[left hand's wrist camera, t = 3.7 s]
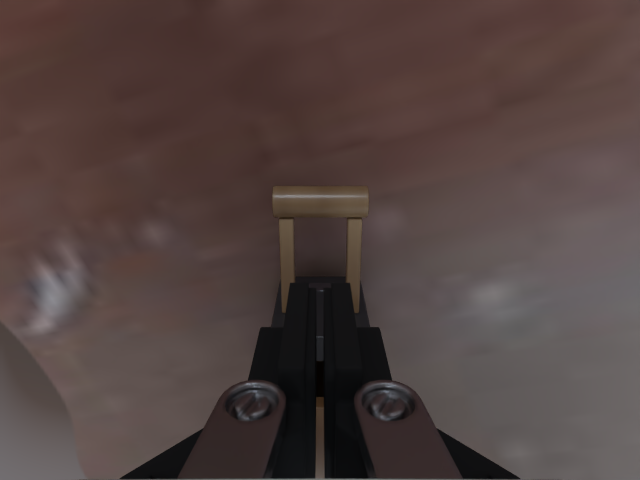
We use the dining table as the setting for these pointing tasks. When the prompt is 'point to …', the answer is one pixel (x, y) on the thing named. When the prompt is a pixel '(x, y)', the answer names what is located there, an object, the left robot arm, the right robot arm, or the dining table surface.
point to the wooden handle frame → (353, 207)
